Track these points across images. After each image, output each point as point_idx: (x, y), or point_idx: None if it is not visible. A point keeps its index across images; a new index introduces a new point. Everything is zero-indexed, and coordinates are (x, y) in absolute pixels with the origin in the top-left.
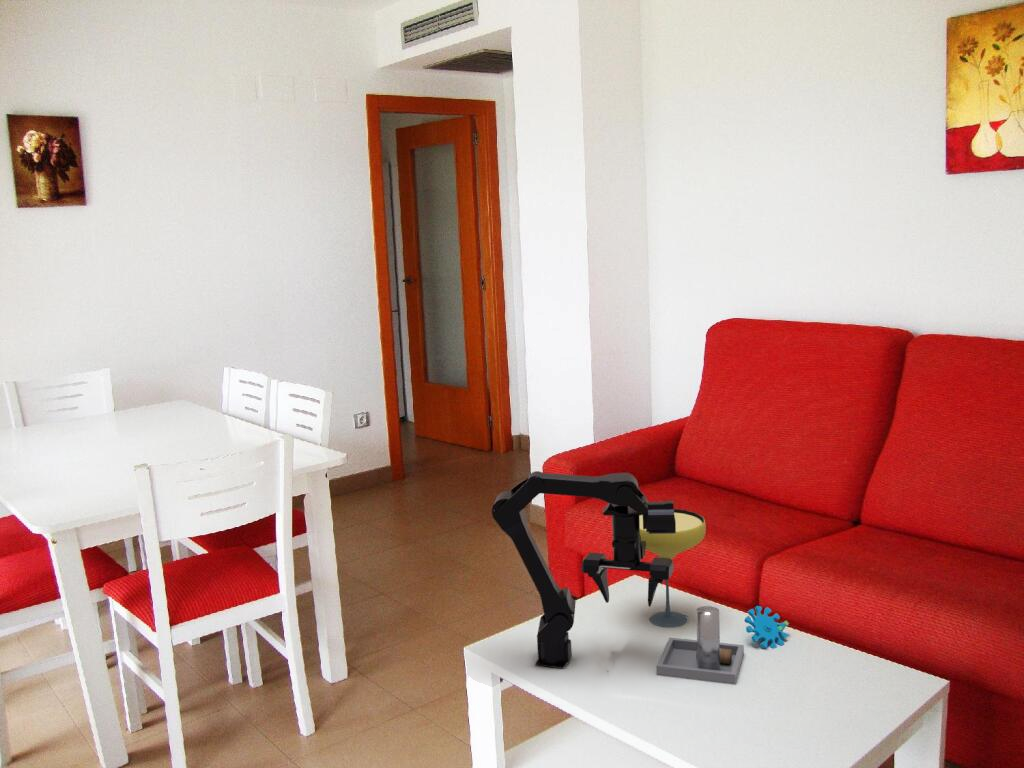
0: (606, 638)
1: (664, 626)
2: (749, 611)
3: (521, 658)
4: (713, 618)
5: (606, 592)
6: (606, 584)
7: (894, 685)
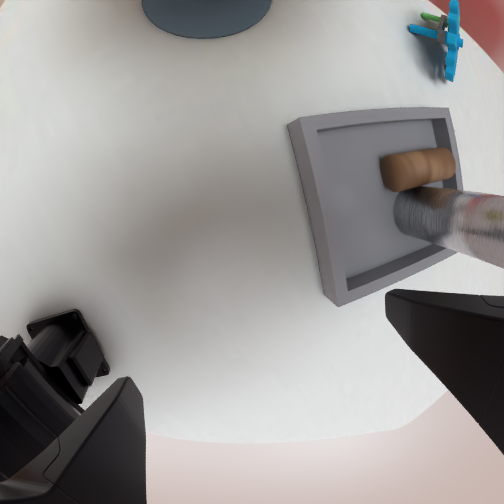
0: (88, 159)
1: (217, 21)
2: (456, 23)
3: None
4: None
5: (136, 457)
6: (105, 479)
7: None
